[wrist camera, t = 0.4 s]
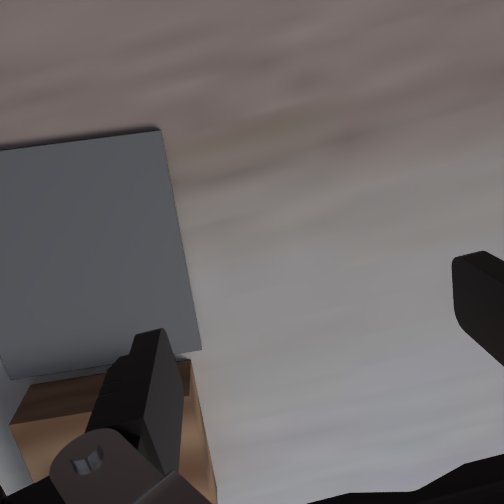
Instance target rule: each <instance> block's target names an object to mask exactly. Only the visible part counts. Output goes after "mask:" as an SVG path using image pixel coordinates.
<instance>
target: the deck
mask: <svg viewBox="0 0 504 504" xmlns="http://www.w3.org/2000/svg"><path fill="white" fill-rule="evenodd" d="M176 363H177V366H178V369H179V372H180V375H181V379H182V383H183V389H184V407H183V420H182V433H181V446H180V460H179V474H180V475H181V476H182V477H184V478H185V479H186V480H187V481H188V482H189V483H190V484H191V485H192V486H193V487H194V488H196V489H197V490H198V491H199V492H200V493H201V494H202V495H203V496H204V497H205V498H207V499H208V500H209V501H210V502H211V503H212V504H217V487H216V482H215V477H214V472H213V467H212V462H211V457H210V452H209V447H208V442H207V437H206V432H205V428H204V423H203V418H202V413H201V408H200V403H199V398H198V393H197V388H196V383H195V378H194V373H193V368H192V364H191V360H186V361H180V362H176ZM105 375H106V373H104V374H98V375H92V376H86V377H79V378H73V379H67V380H60V381H54V382H48V383H42V384H35V385H31V386H30V387H29V389H28V391H27V393H26V395H25V397H24V398H23V400H22V402H21V404H20V406H19V408H18V409H17V411H16V413H15V415H14V417H13V419H12V420H11V422H10V424H9V427H10V429H11V431H12V434H13V436H14V438H15V440H16V443H17V445H18V447H19V450H20V452H21V454H22V457H23V459H24V461H25V463H26V466H27V468H28V470H29V473H30V475H31V477H32V480H33V482H34V483H36V482H38V481H40V480H42V479H43V478H45V477H47V476H49V471H50V466H51V464H52V462H53V460H54V458H55V457H56V455H57V454H58V453H59V452H60V451H61V450H62V449H63V448H64V447H65V446H66V445H67V444H68V443H70V442H71V441H72V440H74V439H75V438H77V437H79V436H80V435H82V434H84V432H85V430H86V427H87V424H88V421H89V419H90V416H91V413H92V411H93V408H94V405H95V402H96V400H97V398H99V396H98V394H99V392H100V389H101V387H102V386H103V384H102V383H103V381H104V378H105Z"/></svg>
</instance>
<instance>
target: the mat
mask: <svg viewBox="0 0 504 504" xmlns="http://www.w3.org/2000/svg"><path fill="white" fill-rule="evenodd" d="M159 328H164V329H165V331H166V333H167V336H168V339H169V342H170V345H171V348H172V351H173V354H179V353H186V352H192V351H198V350H202V346H201V340H200V335H199V330H198V324H197V319H196V314H195V308H194V303H193V298H192V292H191V287H190V282H189V276H188V271H187V266H186V261H185V255H184V250H183V245H182V239H181V234H180V229H179V223H178V218H177V213H176V207H175V202H174V197H173V191H172V186H171V181H170V176H169V170H168V165H167V160H166V154H165V149H164V144H163V138H162V133H161V130H155V131H147V132H140V133H132V134H124V135H116V136H108V137H101V138H93V139H85V140H77V141H69V142H62V143H54V144H46V145H38V146H30V147H22V148H15V149H7V150H0V356H1V358H2V361H3V363H4V366H5V368H6V371H7V373H8V375H9V378H10V380H15V379H21V378H27V377H34V376H40V375H46V374H53V373H59V372H65V371H72V370H78V369H84V368H91V367H97V366H103V365H110V364H113V363H114V362H115V361H116V360H117V359H118V358H119V357H121V356H125V355H129V353H130V350H131V346H132V343H133V340H134V336H135V335H136V334H139V333H143V332H147V331H151V330H155V329H159Z"/></svg>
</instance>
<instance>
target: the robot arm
mask: <svg viewBox="0 0 504 504" xmlns="http://www.w3.org/2000/svg"><path fill="white" fill-rule="evenodd" d="M452 283H453V299H454V311H455V315H456V318H457V321H458V323H459V325H460V326H461V328H462V329H463V330H464V331H465V332H466V333H467V334H468V335H469V336H470V337H471V338H473V339H474V340H475V341H476V342H477V343H478V344H479V345H480V346H481V347H483V348H484V349H485V350H486V351H487V352H488V353H489V354H490V355H492V356H493V357H494V358H495V359H496V360H497V361H498V362H499V363H500V364H502V365H503V366H504V261H503V260H501V259H499V258H497V257H495V256H493V255H492V254H490V253H488V252H486V251H479V252H475V253H471V254H467V255H463V256H458V257H455V258H454V259H453V261H452ZM102 384H103V386H102V387H101V389H100V392H99V394H98V396H99V398H97V400H96V402H95V405H94V408H93V411H92V413H91V416H90V419H89V421H88V424H87V427H86V430H85V432H84V434H82V435H80V436H79V437H77V438H75V439H74V440H72V441H71V442H70V443H68V444H67V445H66V446H65V447H64V448H63V449H62V450H61V451H60V452H59V453H58V454H57V455H56V457H55V458H54V460H53V462H52V464H51V466H50V471H49V476H47V477H45V478H43V479H42V480H40V481H38V482H36V483H34V484H32V485H29V486H27V487H25V488H23V489H21V490H19V491H17V492H15V493H13V494H11V495H9V496H6V494H5V492H4V491H3V489H2V487H1V486H0V504H212V503H211V502H210V501H209V500H208V499H207V498H205V497H204V496H203V495H202V494H201V493H200V492H199V491H198V490H197V489H196V488H194V487H193V486H192V485H191V484H190V483H189V482H188V481H187V480H186V479H185V478H184V477H182V476H181V475H180V474H179V460H180V446H181V433H182V420H183V407H184V389H183V383H182V379H181V375H180V372H179V369H178V366H177V363H176V360H175V357H174V354H173V351H172V348H171V345H170V342H169V339H168V336H167V333H166V331H165V329H164V328H159V329H155V330H151V331H147V332H143V333H139V334H136V335H135V336H134V340H133V343H132V346H131V350H130V353H129V355H125V356H121V357H119V358H118V359H117V360H116V361H115V362H114V363H113V364H112V366H111V367H110V368H109V369H108V370H107V372H106V375H105V378H104V381H103V383H102ZM308 504H504V454H502V455H498V456H494V457H490V458H486V459H482V460H478V461H474V462H470V463H466V464H463V465H462V466H460V467H458V468H456V469H454V470H453V471H451V472H449V473H447V474H445V475H444V476H442V477H440V478H438V479H437V480H435V481H433V482H431V483H429V484H428V485H426V486H424V487H422V488H420V489H418V490H416V491H412V492H372V493H347V494H343V495H339V496H335V497H332V498H328V499H324V500H320V501H316V502H312V503H308Z"/></svg>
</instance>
